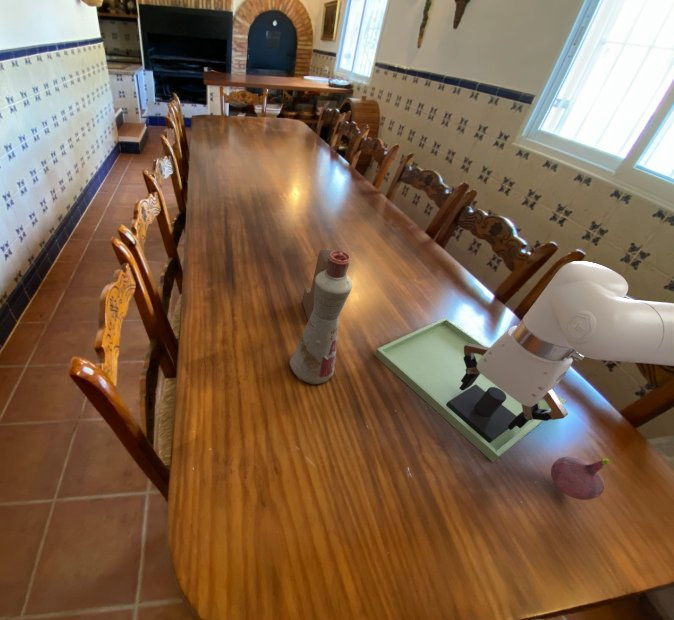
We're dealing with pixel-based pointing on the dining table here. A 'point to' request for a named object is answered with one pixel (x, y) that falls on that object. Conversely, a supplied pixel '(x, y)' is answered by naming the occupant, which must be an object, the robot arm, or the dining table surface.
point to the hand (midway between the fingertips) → (488, 405)
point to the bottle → (323, 322)
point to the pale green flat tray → (449, 378)
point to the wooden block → (309, 292)
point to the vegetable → (578, 477)
